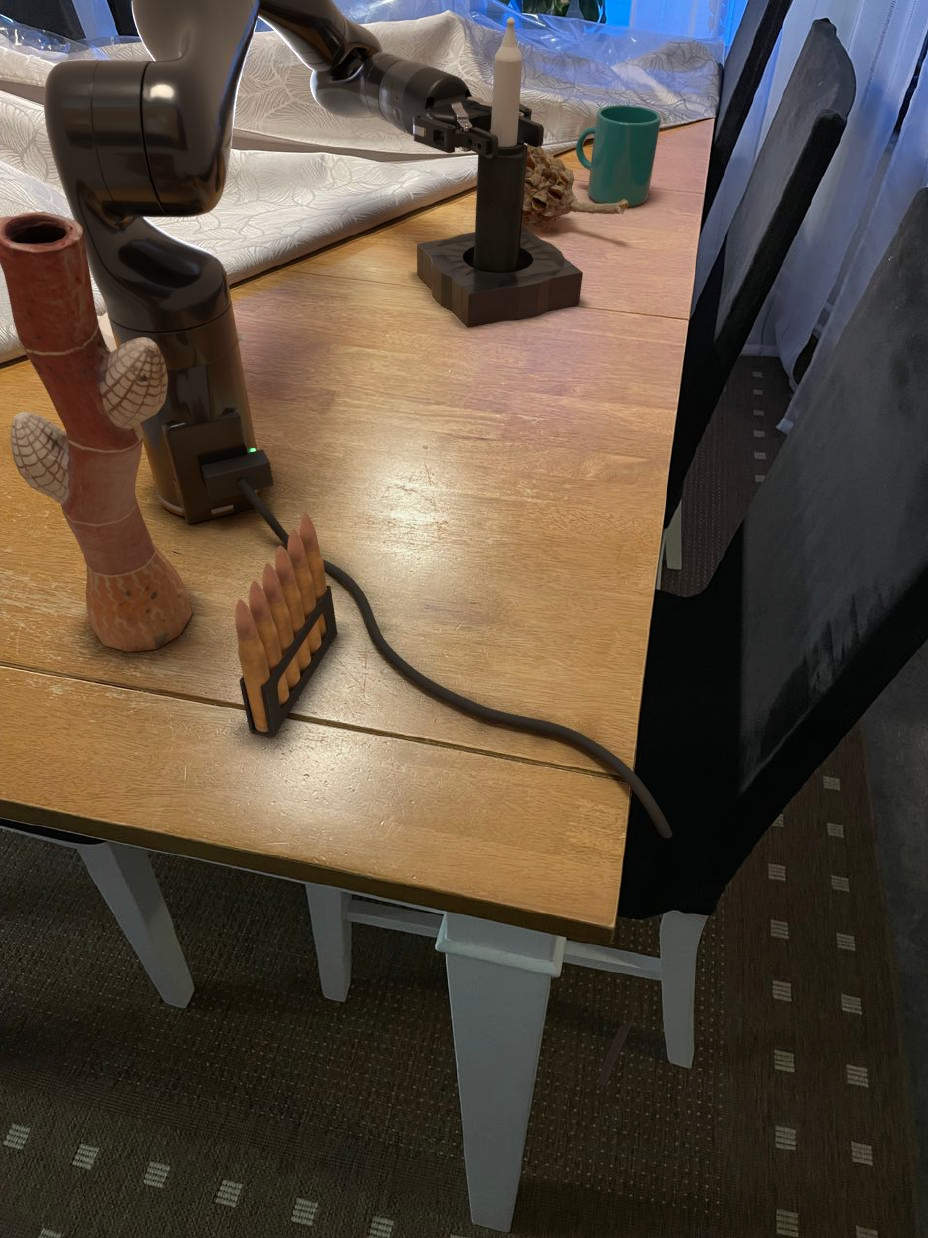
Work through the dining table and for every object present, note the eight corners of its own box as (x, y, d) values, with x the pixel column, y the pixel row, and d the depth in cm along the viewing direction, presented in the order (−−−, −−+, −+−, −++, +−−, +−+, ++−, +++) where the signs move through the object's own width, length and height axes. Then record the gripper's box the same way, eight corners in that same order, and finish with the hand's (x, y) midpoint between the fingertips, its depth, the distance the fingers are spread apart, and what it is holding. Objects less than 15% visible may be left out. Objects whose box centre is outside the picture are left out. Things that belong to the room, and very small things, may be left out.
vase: (67, 633, 66) (-108, 227, 45) (127, 573, 71) (-4, 180, 50) (185, 675, 63) (60, 264, 42) (240, 609, 68) (152, 212, 47)
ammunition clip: (273, 739, 60) (246, 614, 51) (248, 732, 60) (218, 607, 51) (338, 632, 67) (324, 507, 58) (315, 626, 67) (298, 501, 59)
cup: (585, 178, 137) (594, 97, 129) (656, 194, 133) (670, 111, 125) (559, 195, 131) (567, 112, 123) (633, 213, 127) (646, 128, 119)
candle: (513, 273, 104) (532, 25, 86) (471, 268, 105) (481, 20, 87) (520, 255, 108) (539, 13, 90) (479, 251, 108) (490, 9, 91)
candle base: (585, 305, 106) (589, 273, 103) (465, 330, 101) (466, 296, 98) (523, 253, 116) (525, 223, 113) (411, 274, 111) (410, 242, 108)
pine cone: (467, 225, 123) (469, 148, 116) (495, 202, 129) (498, 128, 122) (617, 256, 116) (629, 177, 109) (639, 231, 122) (651, 154, 115)
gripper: (373, 75, 98) (469, 115, 89) (472, 57, 105) (570, 92, 96) (376, 148, 103) (466, 192, 94) (470, 126, 110) (562, 166, 101)
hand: (518, 142), depth 95 cm, fingers closed on candle, 6 cm apart
